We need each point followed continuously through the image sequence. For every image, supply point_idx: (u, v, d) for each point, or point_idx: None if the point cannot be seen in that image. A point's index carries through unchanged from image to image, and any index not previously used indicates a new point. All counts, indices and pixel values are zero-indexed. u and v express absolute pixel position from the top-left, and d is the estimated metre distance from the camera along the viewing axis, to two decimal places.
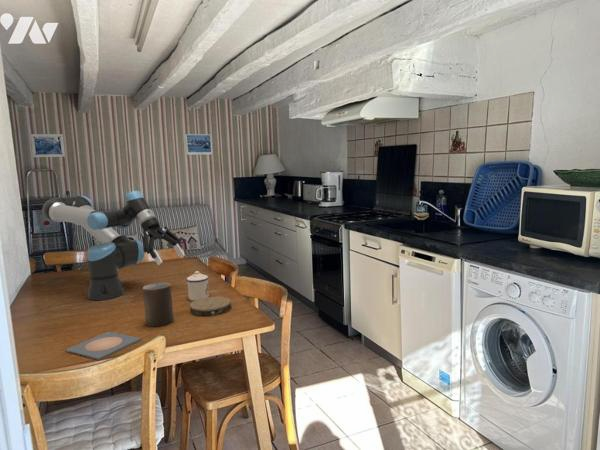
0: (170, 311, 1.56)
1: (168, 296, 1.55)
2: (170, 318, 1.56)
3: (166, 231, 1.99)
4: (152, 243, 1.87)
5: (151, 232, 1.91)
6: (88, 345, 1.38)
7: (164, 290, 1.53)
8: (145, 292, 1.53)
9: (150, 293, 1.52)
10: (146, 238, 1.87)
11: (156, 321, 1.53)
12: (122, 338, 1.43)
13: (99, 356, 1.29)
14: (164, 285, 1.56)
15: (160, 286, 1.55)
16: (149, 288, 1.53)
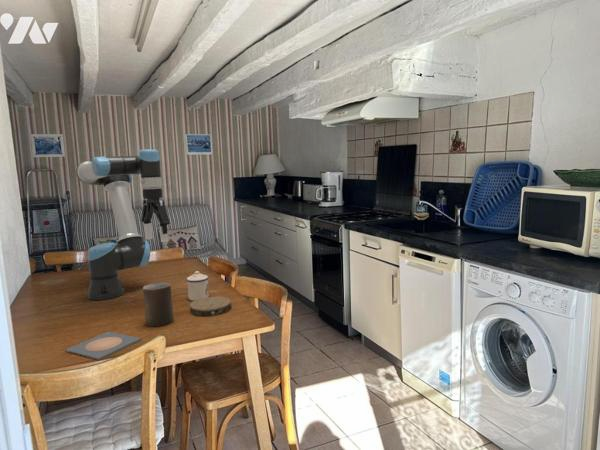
0: (170, 311, 1.56)
1: (168, 296, 1.55)
2: (170, 318, 1.56)
3: None
4: (145, 216, 1.78)
5: None
6: (88, 345, 1.38)
7: (164, 290, 1.54)
8: (145, 292, 1.53)
9: (150, 293, 1.52)
10: (143, 209, 1.78)
11: (156, 321, 1.53)
12: (122, 338, 1.43)
13: (99, 356, 1.29)
14: (164, 285, 1.56)
15: (160, 286, 1.55)
16: (149, 288, 1.53)
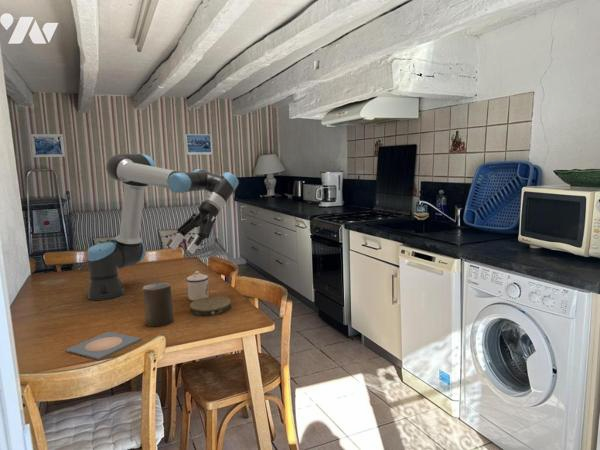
0: (170, 311, 1.56)
1: (168, 296, 1.55)
2: (170, 318, 1.56)
3: None
4: (185, 226, 1.69)
5: None
6: (88, 345, 1.38)
7: (164, 290, 1.54)
8: (145, 292, 1.53)
9: (150, 293, 1.52)
10: (187, 220, 1.71)
11: (156, 321, 1.53)
12: (122, 338, 1.43)
13: (99, 356, 1.29)
14: (164, 285, 1.56)
15: (160, 286, 1.55)
16: (149, 288, 1.53)
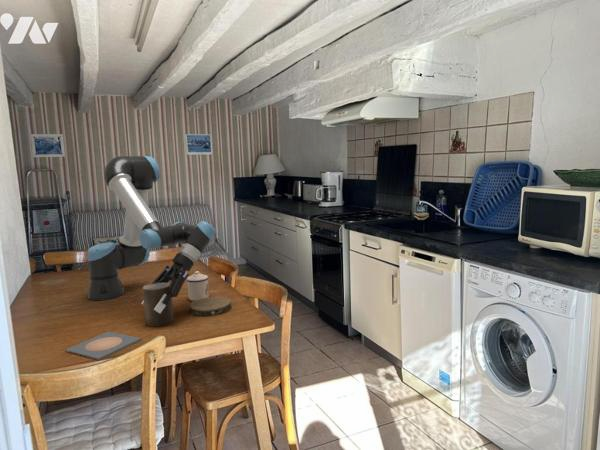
0: (170, 311, 1.56)
1: None
2: (170, 318, 1.56)
3: None
4: (158, 281, 1.62)
5: None
6: (88, 345, 1.38)
7: (164, 290, 1.53)
8: (145, 292, 1.53)
9: (150, 293, 1.52)
10: (161, 274, 1.64)
11: (156, 321, 1.53)
12: (122, 338, 1.43)
13: (99, 356, 1.29)
14: (164, 285, 1.56)
15: (160, 286, 1.55)
16: (149, 288, 1.53)
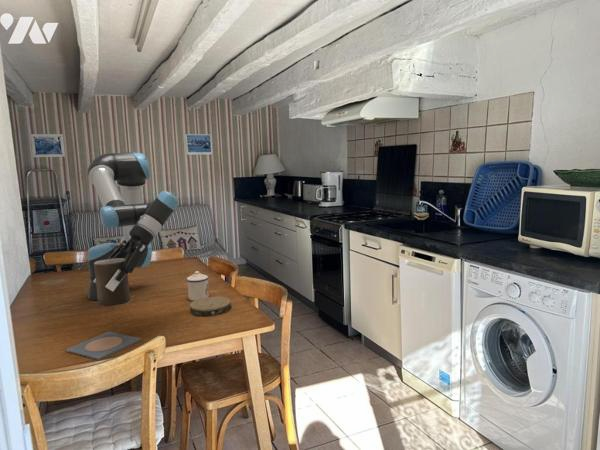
0: (125, 289, 1.39)
1: None
2: (125, 297, 1.39)
3: None
4: (113, 257, 1.44)
5: None
6: (88, 345, 1.38)
7: (118, 265, 1.36)
8: (96, 267, 1.35)
9: (101, 268, 1.34)
10: (116, 249, 1.47)
11: (109, 300, 1.36)
12: (122, 338, 1.43)
13: (99, 356, 1.29)
14: (118, 260, 1.39)
15: (114, 261, 1.38)
16: (101, 263, 1.36)
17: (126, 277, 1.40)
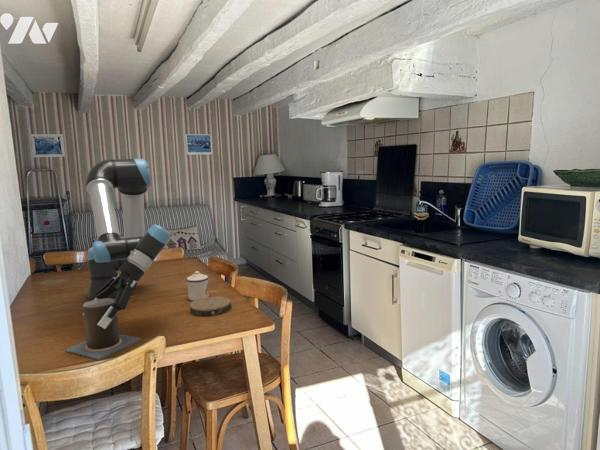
0: (114, 331, 1.37)
1: None
2: (114, 339, 1.37)
3: None
4: (103, 290, 1.43)
5: None
6: None
7: (107, 307, 1.34)
8: (84, 310, 1.33)
9: (90, 311, 1.32)
10: (107, 282, 1.45)
11: (97, 343, 1.34)
12: (122, 338, 1.43)
13: (99, 356, 1.29)
14: (108, 302, 1.37)
15: (103, 303, 1.36)
16: (89, 305, 1.34)
17: (115, 319, 1.37)
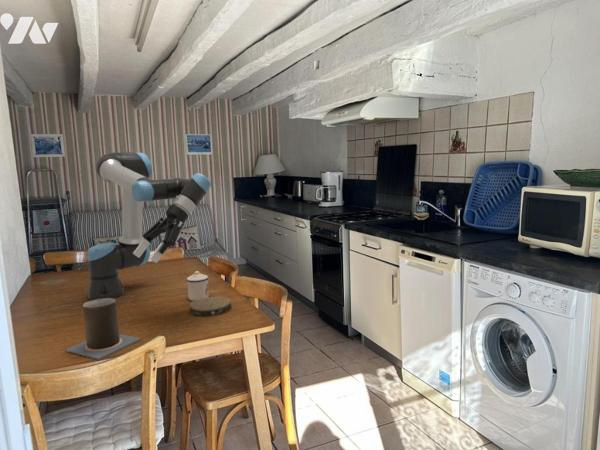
0: (114, 331, 1.37)
1: (112, 314, 1.36)
2: (114, 339, 1.37)
3: None
4: (151, 232, 1.55)
5: None
6: None
7: (107, 308, 1.34)
8: (84, 310, 1.33)
9: (90, 311, 1.32)
10: (154, 225, 1.57)
11: (97, 343, 1.34)
12: (122, 338, 1.43)
13: (99, 356, 1.29)
14: (108, 302, 1.37)
15: (103, 303, 1.36)
16: (89, 305, 1.34)
17: (115, 319, 1.37)
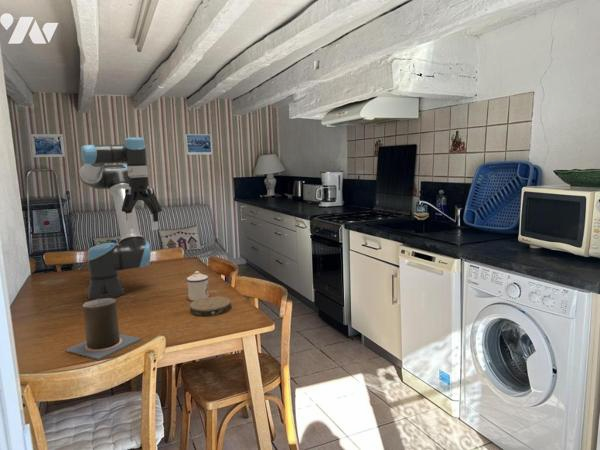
0: (114, 331, 1.37)
1: (112, 314, 1.36)
2: (114, 339, 1.37)
3: None
4: (128, 206, 1.76)
5: (132, 192, 1.74)
6: None
7: (107, 308, 1.34)
8: (84, 310, 1.33)
9: (90, 311, 1.32)
10: (125, 198, 1.76)
11: (97, 343, 1.34)
12: (122, 338, 1.43)
13: (99, 356, 1.29)
14: (108, 302, 1.37)
15: (103, 303, 1.36)
16: (89, 305, 1.34)
17: (115, 319, 1.37)
